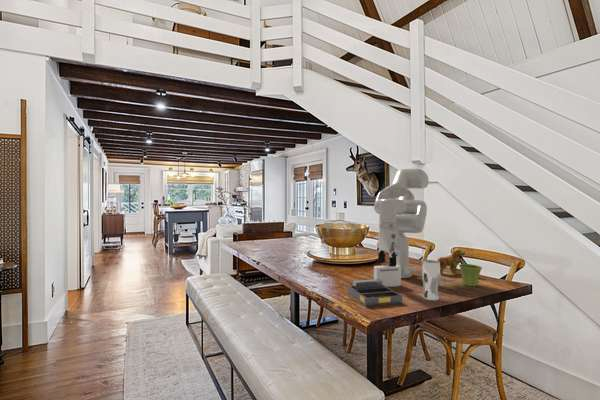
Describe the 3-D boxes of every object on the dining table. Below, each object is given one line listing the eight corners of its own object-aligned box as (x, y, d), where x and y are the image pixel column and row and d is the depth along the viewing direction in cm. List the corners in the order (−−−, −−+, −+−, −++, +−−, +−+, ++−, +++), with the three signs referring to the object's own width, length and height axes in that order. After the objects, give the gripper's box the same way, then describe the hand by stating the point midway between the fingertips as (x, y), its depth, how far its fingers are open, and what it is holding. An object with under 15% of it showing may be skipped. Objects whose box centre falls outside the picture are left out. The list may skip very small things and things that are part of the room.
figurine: (438, 275, 168) (437, 250, 168) (432, 273, 174) (431, 248, 174) (465, 274, 169) (465, 249, 169) (459, 271, 176) (458, 247, 175)
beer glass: (418, 295, 135) (418, 259, 135) (434, 295, 136) (435, 259, 135) (426, 301, 128) (426, 263, 128) (443, 301, 129) (443, 263, 128)
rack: (380, 290, 142) (380, 277, 142) (402, 303, 126) (402, 289, 126) (347, 292, 138) (347, 279, 138) (365, 306, 122) (366, 292, 122)
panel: (397, 284, 152) (397, 264, 152) (400, 285, 149) (401, 266, 149) (373, 285, 149) (373, 266, 149) (376, 287, 146) (377, 267, 146)
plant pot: (479, 283, 154) (479, 264, 154) (483, 288, 145) (484, 269, 145) (457, 281, 157) (457, 263, 157) (460, 286, 148) (460, 267, 148)
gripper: (405, 228, 141) (405, 267, 141) (385, 224, 157) (384, 260, 157) (390, 228, 139) (389, 268, 139) (371, 224, 156) (370, 260, 156)
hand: (386, 264), depth 148 cm, fingers open, 9 cm apart
